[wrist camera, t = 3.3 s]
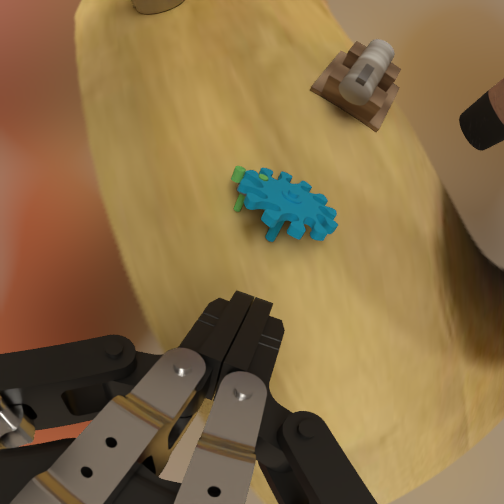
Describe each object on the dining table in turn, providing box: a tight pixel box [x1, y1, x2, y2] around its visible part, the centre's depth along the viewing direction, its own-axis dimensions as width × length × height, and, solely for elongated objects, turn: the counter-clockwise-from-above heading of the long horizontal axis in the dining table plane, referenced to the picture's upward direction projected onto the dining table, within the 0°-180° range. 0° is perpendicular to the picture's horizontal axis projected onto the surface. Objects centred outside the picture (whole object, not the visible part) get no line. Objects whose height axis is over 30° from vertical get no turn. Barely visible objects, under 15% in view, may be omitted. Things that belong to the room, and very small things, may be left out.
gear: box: [231, 166, 338, 242], centre depth 27 cm, size 11×6×10 cm
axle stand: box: [310, 39, 401, 132], centre depth 27 cm, size 12×10×8 cm
